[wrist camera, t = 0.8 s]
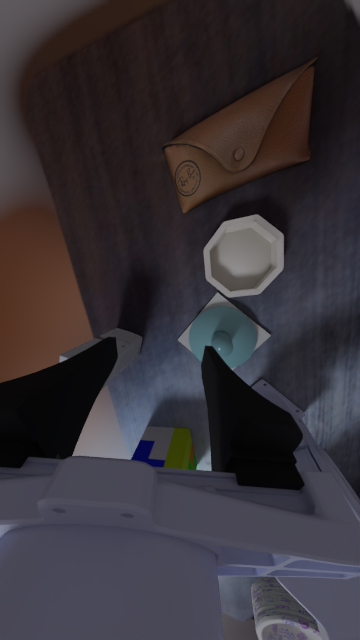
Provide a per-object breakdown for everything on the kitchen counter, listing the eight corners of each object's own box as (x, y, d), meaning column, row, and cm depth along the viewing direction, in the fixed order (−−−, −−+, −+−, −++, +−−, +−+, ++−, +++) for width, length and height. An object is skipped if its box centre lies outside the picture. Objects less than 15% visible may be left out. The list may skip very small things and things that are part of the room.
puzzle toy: (147, 426, 36) (122, 477, 26) (189, 428, 33) (179, 486, 24) (156, 460, 38) (136, 520, 28) (196, 464, 35) (189, 532, 26)
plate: (270, 334, 25) (270, 335, 25) (224, 376, 29) (224, 378, 28) (217, 292, 26) (217, 292, 25) (178, 339, 29) (177, 339, 29)
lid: (270, 335, 25) (281, 345, 21) (224, 378, 28) (225, 393, 24) (217, 292, 25) (217, 294, 21) (177, 339, 29) (171, 349, 25)
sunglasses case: (181, 218, 24) (162, 169, 18) (175, 189, 27) (157, 137, 21) (316, 159, 19) (351, 64, 13) (294, 130, 22) (315, 39, 16)
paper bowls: (314, 559, 34) (343, 638, 26) (324, 604, 36) (353, 689, 29) (242, 548, 38) (248, 613, 30) (255, 589, 40) (264, 660, 33)
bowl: (291, 253, 22) (302, 248, 19) (241, 307, 25) (244, 310, 22) (236, 210, 22) (239, 199, 20) (193, 268, 26) (190, 267, 23)
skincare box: (143, 335, 30) (99, 367, 19) (139, 355, 32) (96, 397, 20) (115, 326, 31) (58, 352, 20) (113, 346, 33) (57, 380, 21)
